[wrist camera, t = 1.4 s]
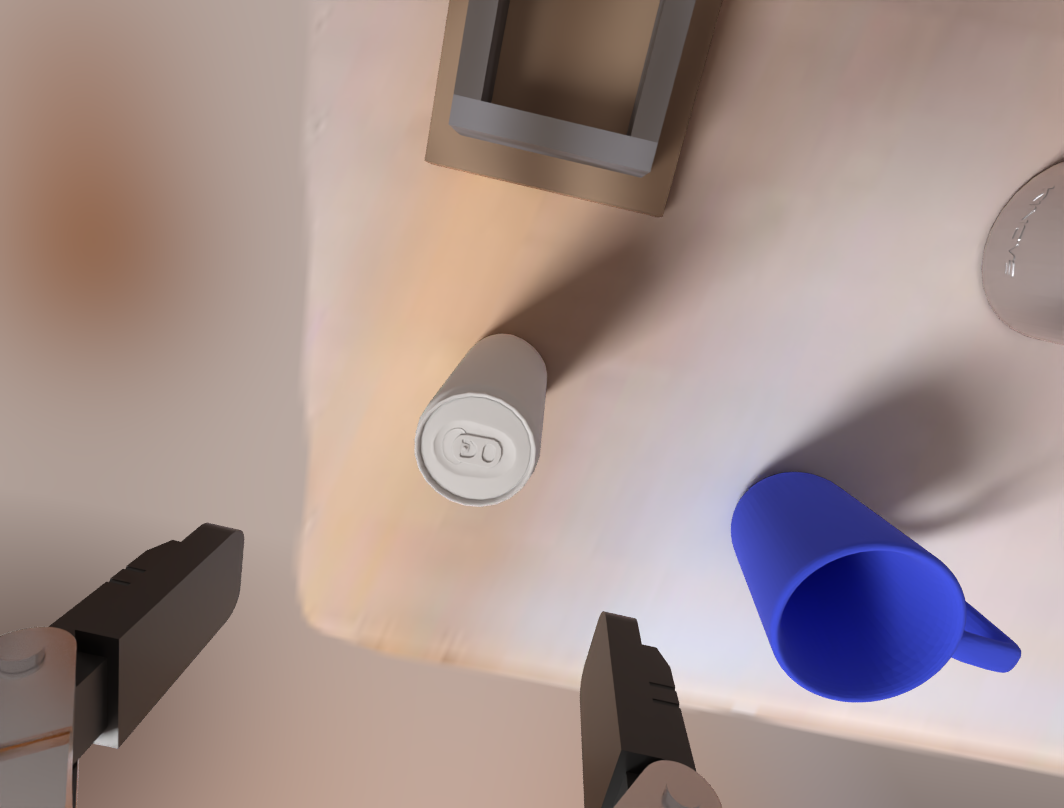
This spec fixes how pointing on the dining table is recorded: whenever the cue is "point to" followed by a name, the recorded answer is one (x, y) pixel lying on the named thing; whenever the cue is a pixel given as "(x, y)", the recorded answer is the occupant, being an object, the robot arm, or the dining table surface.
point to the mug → (853, 594)
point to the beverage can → (485, 423)
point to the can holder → (571, 94)
